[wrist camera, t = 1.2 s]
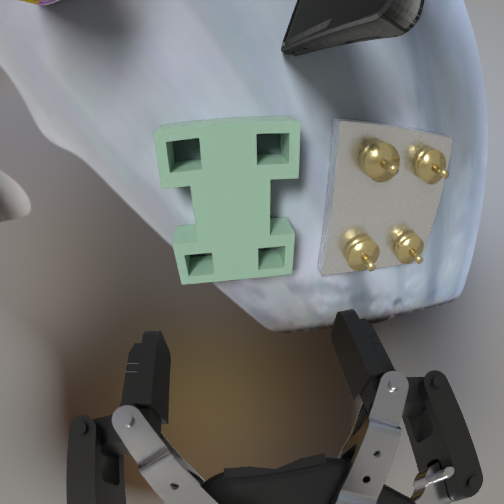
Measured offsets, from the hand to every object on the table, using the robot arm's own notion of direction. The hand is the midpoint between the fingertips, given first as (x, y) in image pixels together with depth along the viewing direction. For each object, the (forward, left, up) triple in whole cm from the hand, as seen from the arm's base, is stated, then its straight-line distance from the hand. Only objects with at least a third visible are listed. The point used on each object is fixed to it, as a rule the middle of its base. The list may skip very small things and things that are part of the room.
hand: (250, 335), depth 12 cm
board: (0, 0, -15) cm, 15 cm away
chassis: (+1, +16, -15) cm, 22 cm away
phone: (-16, +6, -15) cm, 23 cm away
